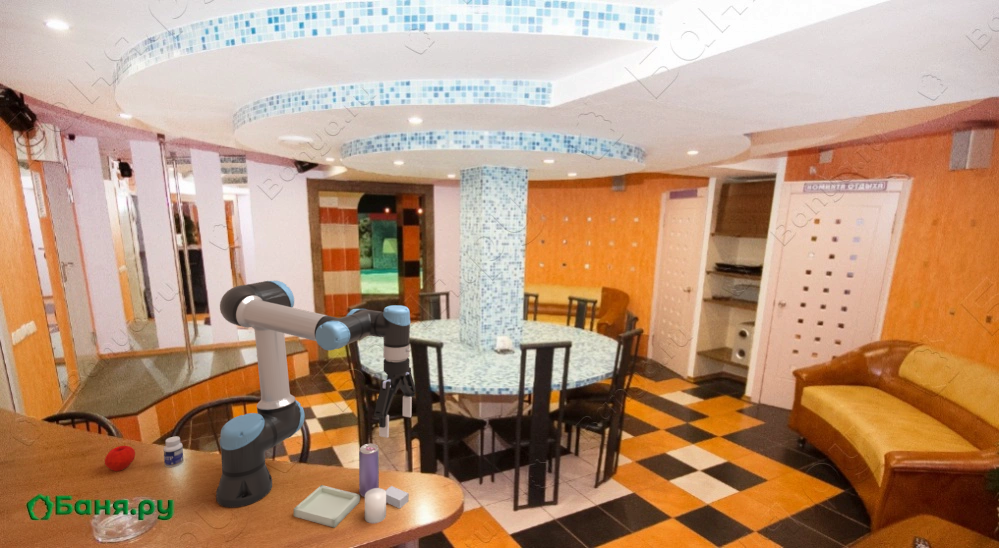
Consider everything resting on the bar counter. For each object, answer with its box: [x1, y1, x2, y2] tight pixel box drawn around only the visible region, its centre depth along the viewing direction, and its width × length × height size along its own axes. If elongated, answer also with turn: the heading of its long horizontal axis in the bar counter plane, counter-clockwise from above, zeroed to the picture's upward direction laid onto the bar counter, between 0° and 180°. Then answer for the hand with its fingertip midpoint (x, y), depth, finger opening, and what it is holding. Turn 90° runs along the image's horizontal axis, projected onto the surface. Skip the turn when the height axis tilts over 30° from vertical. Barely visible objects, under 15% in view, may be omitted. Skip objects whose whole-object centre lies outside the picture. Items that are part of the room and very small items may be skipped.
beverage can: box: [358, 443, 380, 498], centre depth 138 cm, size 6×6×15 cm
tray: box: [293, 484, 361, 529], centre depth 131 cm, size 14×12×2 cm
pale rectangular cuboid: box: [384, 485, 409, 509], centre depth 136 cm, size 7×4×3 cm, turn 61°
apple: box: [104, 445, 136, 472], centre depth 146 cm, size 8×8×7 cm
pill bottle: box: [163, 435, 184, 468], centre depth 150 cm, size 5×5×9 cm
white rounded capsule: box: [364, 487, 387, 524], centre depth 128 cm, size 6×6×7 cm
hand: (396, 425), depth 132 cm, fingers open, 13 cm apart
